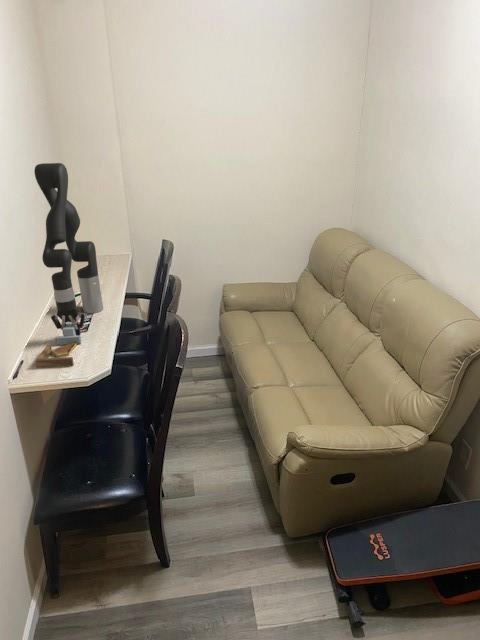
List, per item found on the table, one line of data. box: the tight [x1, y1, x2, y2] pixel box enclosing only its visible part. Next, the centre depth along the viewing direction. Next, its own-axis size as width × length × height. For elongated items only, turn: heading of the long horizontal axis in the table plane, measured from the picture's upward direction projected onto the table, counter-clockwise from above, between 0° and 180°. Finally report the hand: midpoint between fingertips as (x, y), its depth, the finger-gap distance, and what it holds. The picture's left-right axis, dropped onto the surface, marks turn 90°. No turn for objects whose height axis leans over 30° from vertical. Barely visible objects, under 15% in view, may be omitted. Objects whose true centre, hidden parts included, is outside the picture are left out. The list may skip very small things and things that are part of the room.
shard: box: [51, 342, 77, 358], centre depth 184 cm, size 11×8×2 cm
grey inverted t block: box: [56, 322, 82, 346], centre depth 193 cm, size 10×9×6 cm
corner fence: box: [35, 344, 75, 369], centre depth 178 cm, size 13×13×3 cm
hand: (72, 336), depth 194 cm, fingers closed on grey inverted t block, 4 cm apart
